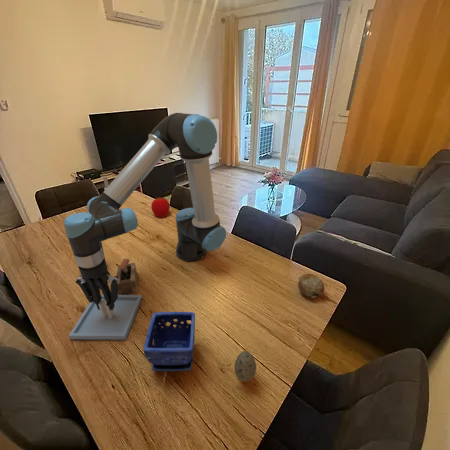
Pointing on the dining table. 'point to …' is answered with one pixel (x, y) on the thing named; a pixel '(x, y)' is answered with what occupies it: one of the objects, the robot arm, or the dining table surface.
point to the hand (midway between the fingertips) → (108, 314)
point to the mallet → (125, 268)
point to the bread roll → (311, 285)
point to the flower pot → (170, 341)
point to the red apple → (160, 207)
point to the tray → (107, 320)
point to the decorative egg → (245, 366)
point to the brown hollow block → (129, 284)
